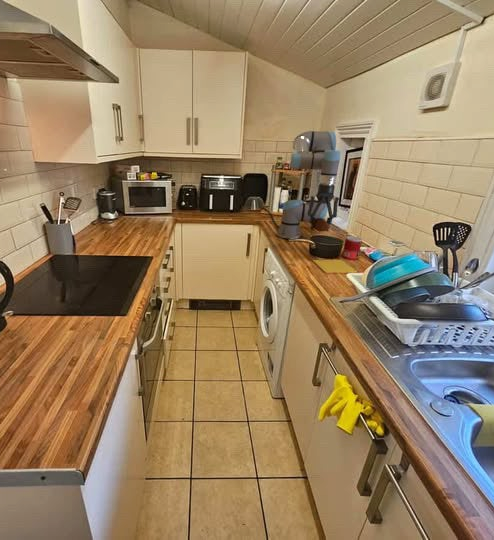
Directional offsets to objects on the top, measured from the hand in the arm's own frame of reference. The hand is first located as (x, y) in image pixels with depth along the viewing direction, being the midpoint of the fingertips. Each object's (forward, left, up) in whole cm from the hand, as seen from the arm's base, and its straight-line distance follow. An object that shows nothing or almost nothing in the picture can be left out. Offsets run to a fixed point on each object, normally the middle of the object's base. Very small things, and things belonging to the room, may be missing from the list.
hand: (319, 230), depth 155 cm
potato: (0, 0, -1) cm, 1 cm away
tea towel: (+10, +7, -16) cm, 20 cm away
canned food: (-4, +20, -16) cm, 26 cm away
